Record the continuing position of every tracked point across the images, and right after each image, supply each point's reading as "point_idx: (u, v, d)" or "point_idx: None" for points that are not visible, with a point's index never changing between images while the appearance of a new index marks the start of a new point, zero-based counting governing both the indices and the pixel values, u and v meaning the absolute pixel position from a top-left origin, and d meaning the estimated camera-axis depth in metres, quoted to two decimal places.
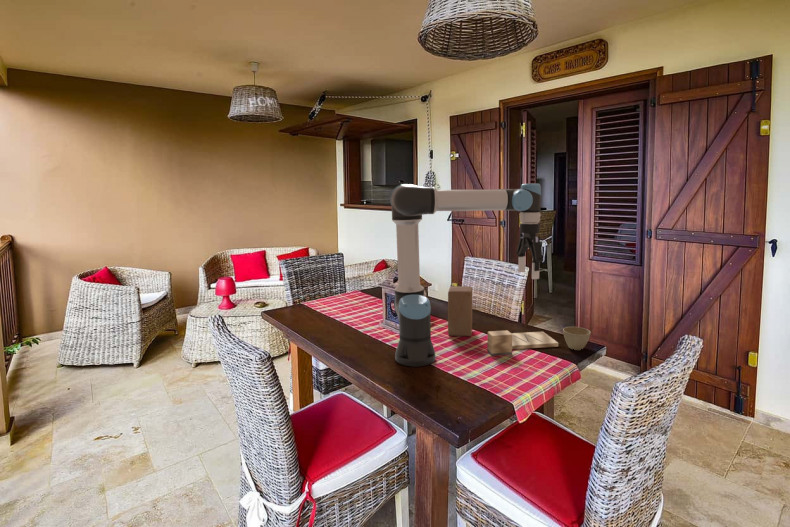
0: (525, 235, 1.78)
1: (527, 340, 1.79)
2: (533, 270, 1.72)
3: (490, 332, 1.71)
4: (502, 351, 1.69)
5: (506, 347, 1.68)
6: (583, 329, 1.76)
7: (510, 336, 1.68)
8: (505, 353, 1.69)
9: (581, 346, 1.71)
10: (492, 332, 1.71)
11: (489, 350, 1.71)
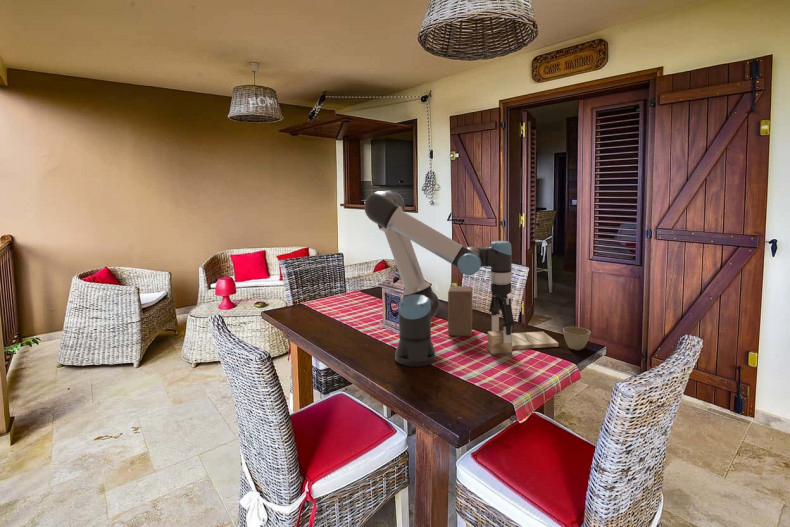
0: (497, 295, 1.68)
1: (527, 340, 1.79)
2: (505, 334, 1.62)
3: (490, 332, 1.71)
4: (502, 351, 1.69)
5: (506, 347, 1.68)
6: (583, 329, 1.76)
7: None
8: (505, 353, 1.69)
9: (581, 346, 1.71)
10: (492, 332, 1.71)
11: (489, 350, 1.71)
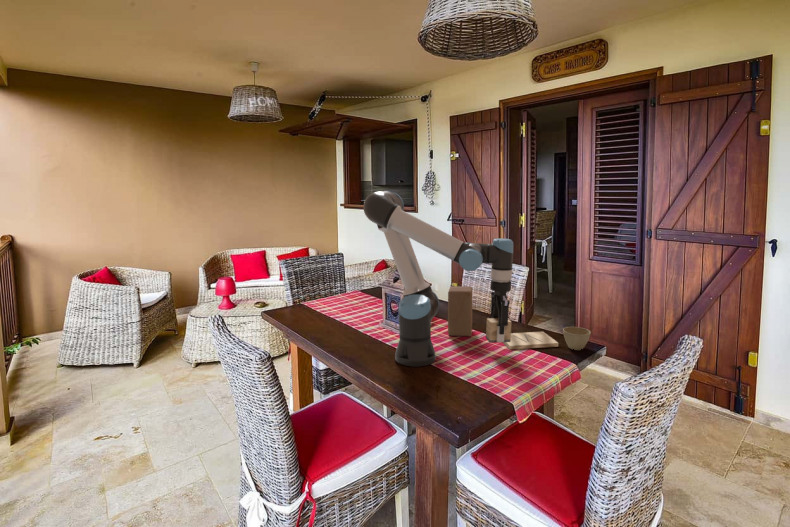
0: None
1: (527, 340, 1.79)
2: (498, 333, 1.67)
3: (489, 319, 1.70)
4: None
5: None
6: (583, 329, 1.76)
7: (509, 323, 1.67)
8: (504, 340, 1.68)
9: (581, 346, 1.71)
10: (491, 319, 1.70)
11: (488, 337, 1.70)
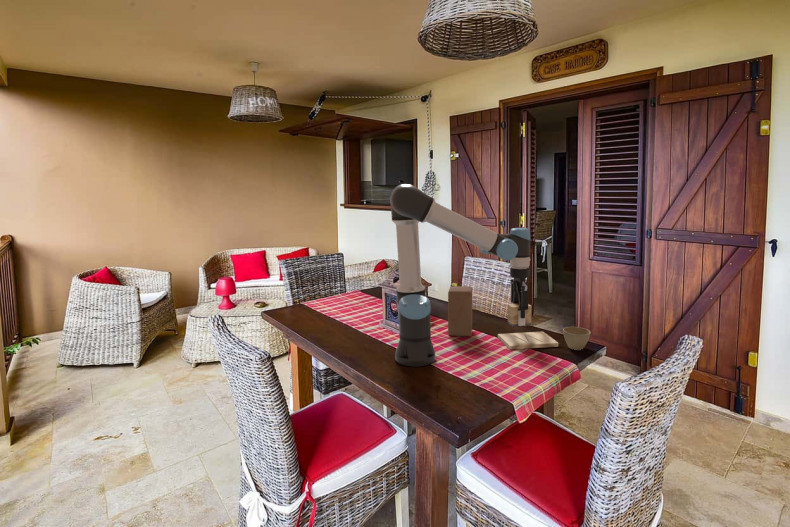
0: None
1: (527, 340, 1.79)
2: (519, 317, 1.76)
3: (510, 304, 1.80)
4: None
5: (525, 318, 1.77)
6: (583, 329, 1.76)
7: (529, 307, 1.77)
8: (525, 324, 1.78)
9: (581, 346, 1.71)
10: (512, 304, 1.80)
11: (509, 321, 1.80)
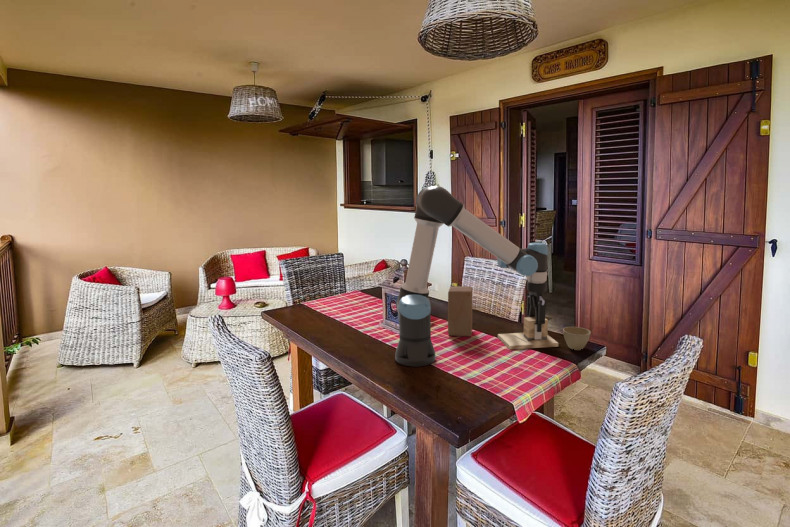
0: None
1: (527, 340, 1.79)
2: (536, 331, 1.78)
3: (526, 318, 1.82)
4: None
5: (542, 331, 1.79)
6: (583, 329, 1.76)
7: (546, 321, 1.79)
8: (541, 337, 1.80)
9: (581, 346, 1.71)
10: (528, 318, 1.81)
11: (525, 335, 1.81)
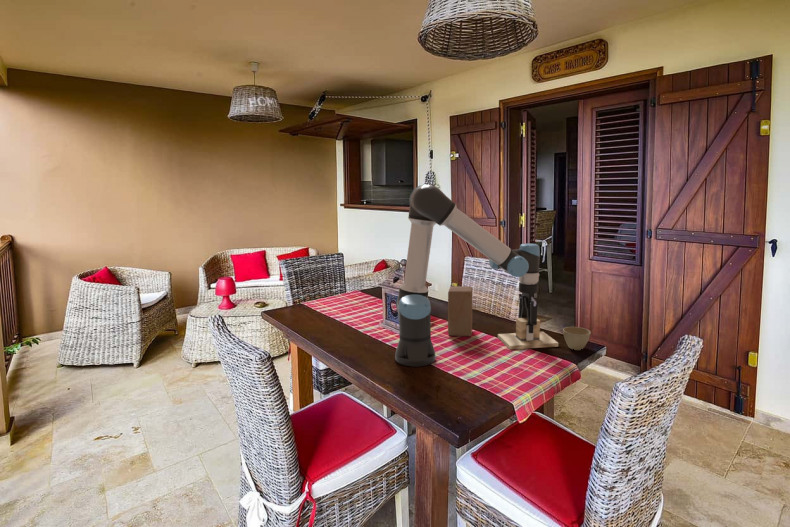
0: None
1: None
2: (527, 332, 1.78)
3: (519, 319, 1.81)
4: None
5: (534, 332, 1.79)
6: (583, 329, 1.76)
7: (538, 322, 1.78)
8: (533, 338, 1.79)
9: (581, 346, 1.71)
10: (521, 319, 1.81)
11: (518, 336, 1.81)
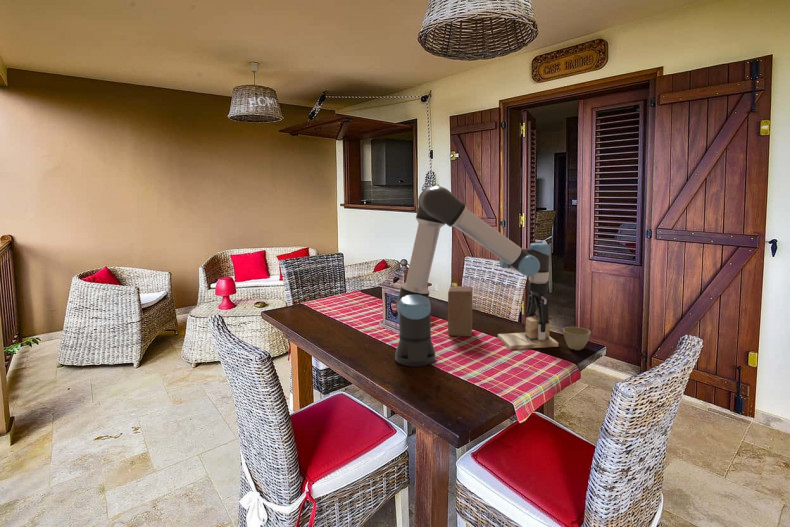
0: (533, 292, 1.80)
1: (527, 340, 1.79)
2: (539, 331, 1.76)
3: (528, 318, 1.82)
4: None
5: None
6: (583, 329, 1.76)
7: None
8: None
9: (581, 346, 1.71)
10: (530, 318, 1.82)
11: (527, 335, 1.82)
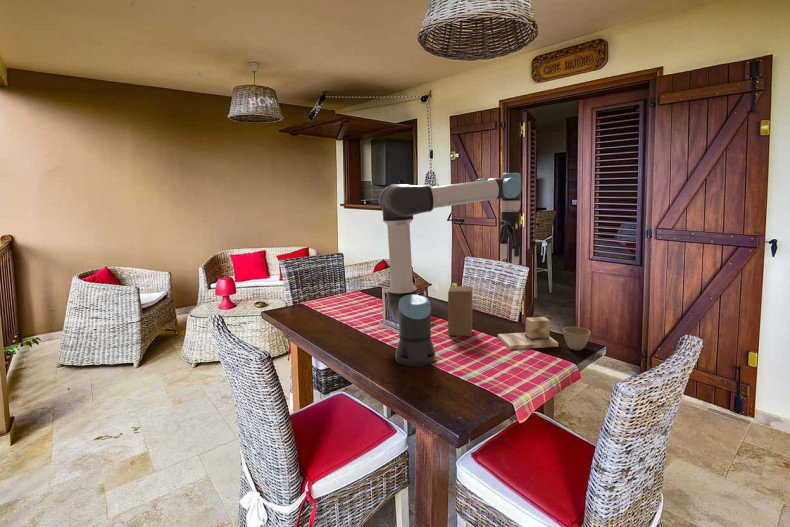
0: (506, 223, 1.86)
1: (527, 340, 1.79)
2: (513, 256, 1.80)
3: (528, 318, 1.82)
4: (540, 336, 1.80)
5: (543, 332, 1.79)
6: (583, 329, 1.76)
7: (548, 322, 1.79)
8: (543, 338, 1.80)
9: (581, 346, 1.71)
10: (530, 318, 1.82)
11: (527, 335, 1.82)
